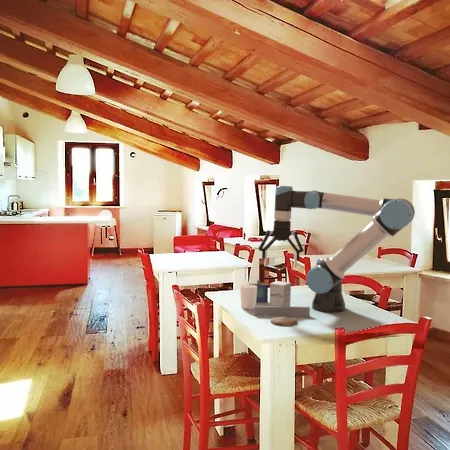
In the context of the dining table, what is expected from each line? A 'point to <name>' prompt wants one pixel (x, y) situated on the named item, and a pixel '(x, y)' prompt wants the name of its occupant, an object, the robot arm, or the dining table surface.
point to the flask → (261, 291)
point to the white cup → (248, 296)
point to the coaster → (284, 321)
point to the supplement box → (280, 294)
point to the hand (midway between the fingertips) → (280, 266)
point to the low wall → (281, 311)
